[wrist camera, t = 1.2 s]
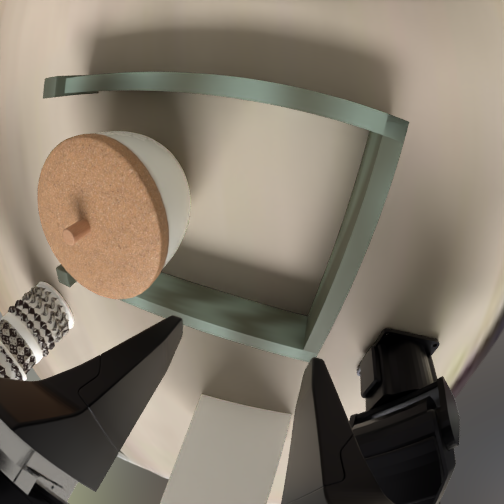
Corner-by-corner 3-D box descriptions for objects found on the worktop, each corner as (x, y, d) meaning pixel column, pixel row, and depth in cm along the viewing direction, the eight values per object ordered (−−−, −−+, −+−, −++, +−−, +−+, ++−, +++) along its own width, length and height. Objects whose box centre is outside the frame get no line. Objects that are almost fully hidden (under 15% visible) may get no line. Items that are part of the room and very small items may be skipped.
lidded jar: (103, 119, 19) (12, 140, 11) (222, 129, 18) (145, 148, 10) (105, 232, 25) (36, 284, 17) (206, 261, 23) (151, 339, 15)
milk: (206, 428, 39) (151, 559, 17) (201, 393, 34) (125, 560, 11) (279, 445, 37) (239, 584, 15) (291, 414, 32) (242, 597, 9)
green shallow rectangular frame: (391, 116, 15) (415, 119, 11) (315, 330, 24) (311, 374, 20) (87, 76, 18) (44, 78, 13) (89, 257, 27) (59, 281, 23)
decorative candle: (75, 302, 32) (-39, 434, 10) (77, 339, 36) (-11, 452, 15) (33, 267, 31) (-80, 375, 10) (38, 307, 36) (-51, 405, 15)
